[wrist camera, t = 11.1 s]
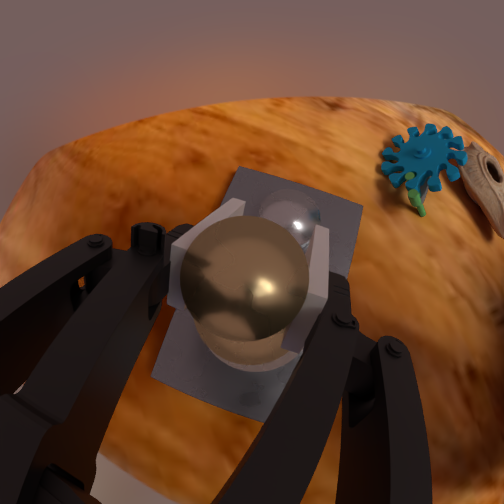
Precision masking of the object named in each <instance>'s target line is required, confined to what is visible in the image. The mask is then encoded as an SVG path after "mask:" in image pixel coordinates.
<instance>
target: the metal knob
mask: <svg viewBox="0 0 504 504" xmlns="http://www.w3.org/2000/svg"><path fill="white" fill-rule="evenodd" d="M180 288H181V293H182V297H183V300H184V303H185V305H186V307H187V309H188V311H189V312H190V314H191V315H192V317H193V319H194V323H195V326H196V329H197V331H198V333H199V335H200V337H201V339H202V340H203V341H204V343H205V344H206V345H207V346H208V347H209V348H210V349H211V350H212V351H213V352H214V353H215V354H217V355H218V356H220V357H222V358H223V359H225V360H228V361H230V362H233V363H236V364H242V365H261V364H265V363H269V362H271V361H274V360H276V359H278V358H280V357H282V356H283V355H285V354H286V353H288V352H289V351H288V350H285V349H282V348H280V347H281V344H282V340H283V336H284V332H285V328H286V326H287V325H288V324H290V323H291V322H292V321H293V320H294V318H295V317H296V316H297V314H298V313H299V311H300V310H301V308H302V306H303V304H304V302H305V299H306V296H307V292H308V288H309V269H308V263H307V260H306V257H305V254H304V252H303V250H302V248H301V247H300V245H299V243H298V242H297V241H296V239H295V238H294V237H293V236H292V235H291V234H290V233H289V232H288V231H287V230H286V229H284V228H283V227H281V226H280V225H278V224H276V223H274V222H272V221H270V220H267V219H264V218H261V217H256V216H234V217H230V218H226V219H223V220H220V221H218V222H216V223H214V224H212V225H210V226H209V227H207V228H206V229H205V230H203V231H202V232H201V233H200V234H199V235H198V236H197V237H196V238H195V239H194V240H193V242H192V243H191V245H190V246H189V248H188V250H187V252H186V254H185V256H184V259H183V261H182V266H181V271H180Z"/></svg>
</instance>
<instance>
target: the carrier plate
mask: <svg viewBox="0 0 504 504" xmlns="http://www.w3.org/2000/svg"><path fill="white" fill-rule="evenodd" d="M232 198H236V199H239V200H243V201H246V203H245V207H244V212H243V216H256V217H261V218H264V219H267V220H270V221H272V222H274V223H276V224H278V225H280V226H281V227H283V228H284V229H286V230H287V231H288V232H289V233H290V234H291V235H292V236H293V237H294V238H295V239H296V241H297V242H298V243H299V245H300V247H301V248H302V250H303V252H304V254H305V253H306V250H307V248H308V245H309V242H310V239H311V237H312V234H313V231H314V228H315V225H319V226H322V227H325V228H328V229H329V271H331V272H334V273H337V274H340V275H343V276H345V278H346V279H347V277H348V273H349V269H350V265H351V261H352V256H353V252H354V248H355V243H356V239H357V234H358V230H359V225H360V220H361V215H362V210H363V206H362V205H360V204H357V203H354V202H352V201H349V200H346V199H343V198H340V197H338V196H335V195H332V194H329V193H326V192H323V191H320V190H317V189H314V188H311V187H308V186H305V185H302V184H299V183H296V182H293V181H289V180H286V179H283V178H280V177H276V176H273V175H269V174H266V173H262V172H259V171H255V170H252V169H248V168H244V167H241V166H239V167H238V169H237V171H236V174H235V176H234V178H233V180H232V182H231V184H230V186H229V188H228V190H227V192H226V195H225V197H224V199H223V201H222V203H221V205H220V207H221V206H222V205H223V204H225V203H226V202H228V201H229V200H230V199H232ZM303 348H304V346H303ZM303 348H302V350H301V352H300V354H298V353H295V352H292V351H289V352H288V353H286V354H285V355H283V356H282V357H280V358H278V359H276V360H274V361H271V362H269V363H265V364H261V365H242V364H236V363H233V362H230V361H228V360H225V359H223V358H222V357H220V356H218V355H217V354H215V353H214V352H213V351H212V350H211V349H210V348H209V347H208V346H207V345H206V344H205V343H204V341H203V340H202V339H201V337H200V335H199V333H198V331H197V329H196V326H195V323H194V319H193V317H192V315H191V314H190V312H189V311H188V309H187V308H186V309H185V310H184V311H181V310H179V309H177V308H176V310H175V313H174V315H173V318H172V320H171V323H170V325H169V328H168V331H167V333H166V336H165V338H164V341H163V344H162V346H161V349H160V352H159V354H158V357H157V360H156V363H155V365H154V368H153V371H152V374H151V377H152V378H154V379H156V380H158V381H160V382H162V383H164V384H166V385H168V386H170V387H173V388H175V389H177V390H179V391H181V392H183V393H186V394H188V395H190V396H192V397H195V398H197V399H200V400H202V401H204V402H207V403H209V404H212V405H214V406H217V407H220V408H222V409H225V410H228V411H230V412H233V413H236V414H239V415H242V416H245V417H248V418H251V419H254V420H257V421H260V422H263V423H265V421H266V419H267V418H268V416H269V414H270V413H271V411H272V409H273V407H274V405H275V404H276V402H277V400H278V398H279V396H280V395H281V393H282V391H283V389H284V387H285V385H286V384H287V382H288V380H289V378H290V376H291V373H292V371H293V369H294V367H295V366H296V364H297V362H298V360H299V359H300V357H301V355H302V353H303Z"/></svg>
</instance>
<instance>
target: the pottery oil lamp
mask: <svg viewBox="0 0 504 504" xmlns="http://www.w3.org/2000/svg"><path fill="white" fill-rule="evenodd" d="M459 151H465V152H466V153H467V157H468V160H467V162H466V164H465V165H464V166H460V165H459V164H458V163H457V164H458V168H459V171H460V174H461V177H462V179H463V184H464V187H465V189H466V191H467V193H468V194H469V196H470V198H471V199H472V200H473V201H474V202H475V203H476V204H477V205H479V206H480V207H481V209H482V211H483V212H484V214H485V215H486V217H487V219H488V220H489V222H490V224H491V226H492V227H493V229H494V231H495V232H496V233H497V235H498V236H500V237H501V238H503V239H504V174H503V171H502V169H501V166H500V164H499V162H498V161H497V159H496V158H495V157H494V156H492V155H490V154H489V153H488V152H486V151H484V150H483V148H482V147H480V146H479V145H478V144H477V143H476V142H471V144H470V146H469V147H464V149H463V150H459Z"/></svg>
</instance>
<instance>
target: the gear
mask: <svg viewBox="0 0 504 504" xmlns="http://www.w3.org/2000/svg"><path fill="white" fill-rule="evenodd" d="M407 131H408V133H409V135H410V137H409V140H408V142H406V143H404V140H403V138H402V136H401V135H397V136H395V137H394V138H392V141H393V143H394V145H395V147H398V148H400V149H401V150H400V151H399V152H397V153H394V152H393V150H392V148H390V147H387V148H386V149H385V150H384V151H383V153H382V155H383V157H384V158H385V160H396V161H398V162H397V163H395V164H392V163H390V162H389V161H385V162H383V163H382V166H381V170H382V171H383V173H384V175H389V174H390V175H389V179H390V181H391V183H392V185H393V186H394V188H398V187H400V186H401V184H402V183H403V182H404V181H407V182H406V184H405V186H406V188H407V190H408V198H409V200H410V203H411V204H412V206H414V207H417V209H418V212H419V214H420V216H421V217H424V216H425V215H426V212H425V209H424V207H423V204H422V203H423V202H424V200H425V197H426V194H427V191H428V188H429V190H430V191H432V192H436V191H441V189H442V186H441V182H440V179H439V173H440V171H441V170H443V169H446V172H447V176H448V179H449V181H451V182H453V181H455V180H457V179H458V178H460V173H459V169H458V168H457V167H456V166H453V165H451V164H450V163H449V162H448V160H449V159H455V160H456V161H457V163H458V164H459V165H460V166H464V165H465V164H466V162H467V160H468V157H467V153H466V152H465V151H455V150H451V149H449V148H455V149H457V150H463V149H464V144H463V140H462V137H461V136H456V137H454V136H453V133H452V130H451V129H450V128H449V127H447V126H445V127H443V128H442V130H441V131H440V132H438V133H437V129H436V126H435V125H434V124H426V125H425V130H424V132H423V133H422V134H421V135H420V136H419V134H420V133H419V131H418V129H417V127H410V128H408V129H407ZM453 137H454V138H453ZM398 171H402V173H394V172H398ZM391 173H392V174H391Z"/></svg>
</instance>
